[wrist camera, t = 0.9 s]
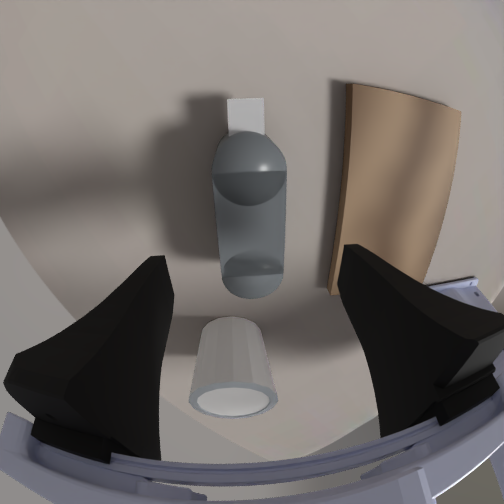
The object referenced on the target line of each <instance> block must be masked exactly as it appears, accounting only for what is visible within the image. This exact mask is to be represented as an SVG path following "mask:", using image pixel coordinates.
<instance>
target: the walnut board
mask: <svg viewBox="0 0 504 504" xmlns="http://www.w3.org/2000/svg"><path fill="white" fill-rule="evenodd" d="M460 123H461V111H458V110H456V109H453V108H450V107H447V106H444V105H441V104H438V103H435V102H432V101H428V100H425V99H422V98H418V97H414V96H411V95H407V94H403V93H399V92H394V91H390V90H385V89H380V88H375V87H370V86H364V85H358V84H346V118H345V140H344V156H343V169H342V181H341V191H340V201H339V209H338V218H337V226H336V233H335V241H334V248H333V254H332V261H331V267H330V273H329V279H328V285H327V289H328V291H329V293H330V295H339V294H340V293H339V289H338V286H337V281H338V276H339V271H340V265H341V260H342V254H343V248H344V244H359V245H361V246H363V247H364V248H366V249H368V250H369V251H371V252H373V253H374V254H376V255H377V256H379V257H380V258H382V259H383V260H385V261H386V262H388V263H389V264H391V265H392V266H394V267H395V268H397V269H398V270H400V271H402V272H403V273H405V274H407V275H408V276H410V277H411V278H413V279H415V280H416V281H418V282H420V283H423V281H424V278H425V276H426V273H427V270H428V267H429V265H430V262H431V259H432V256H433V253H434V250H435V247H436V244H437V240H438V237H439V234H440V230H441V227H442V223H443V219H444V216H445V212H446V208H447V204H448V199H449V195H450V190H451V186H452V181H453V175H454V170H455V164H456V157H457V151H458V143H459V134H460Z"/></svg>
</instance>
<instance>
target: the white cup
mask: <svg viewBox="0 0 504 504" xmlns="http://www.w3.org/2000/svg"><path fill="white" fill-rule="evenodd" d="M277 402H278V398H277V392H276V388H275V384H274V381H273V377H272V373H271V369H270V365H269V361H268V357H267V353H266V349H265V345H264V341H263V337H262V333H261V329H260V328H259V327H258V326H257V325H256V324H255V323H254V322H252V321H250V320H248V319H246V318H241V317H234V316H229V317H221V318H217V319H215V320H213V321H211V322H209V323H208V324H207V325H206V326H205V327H204V328H203V329H202V334H201V339H200V344H199V349H198V354H197V359H196V364H195V369H194V375H193V380H192V385H191V391H190V396H189V403H190V404H191V405H192V407H193V408H194V409H196V410H198V411H199V412H201V413H203V414H206V415H210V416H214V417H218V418H230V419H236V418H247V417H252V416H256V415H259V414H263V413H264V412H266V411H268V410H270V409H272V408H273V407H274V406H275V404H276V403H277Z"/></svg>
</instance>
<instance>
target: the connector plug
mask: <svg viewBox="0 0 504 504" xmlns="http://www.w3.org/2000/svg"><path fill="white" fill-rule="evenodd" d="M227 109H228V130H229V132H228V133H227V134H226V135H225V136H224V137H223V138H222V139H221V141H220V142H219V145H218V147H217V151H216V154H215V157H214V161H213V164H212V182H213V194H214V205H215V216H216V226H217V236H218V246H219V255H220V264H221V273H222V280H223V283H224V285H225V287H226V288H227V289H228V290H229V291H230V292H231V293H232V294H234V295H236V296H238V297H241V298H246V299H256V298H261V297H264V296H267V295H269V294H270V293H272V292H273V291H275V290H276V289H277V288H278V286H279V285H280V283H281V281H282V278H283V270H284V248H285V221H286V182H287V167H286V161H285V158H284V156H283V154H282V152H281V151H280V149H279V148H278V147H277V146H276V145H275V144H274V143H273V142H272V141H271V140H270V139H269V137H268V136H267V135H266V134H264V98H240V99H227Z"/></svg>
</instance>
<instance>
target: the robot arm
mask: <svg viewBox="0 0 504 504" xmlns="http://www.w3.org/2000/svg"><path fill="white" fill-rule="evenodd" d="M477 283H478V278H477V277H475V278H470V279H465V280H460V281H455V282H450V283H444V284H439V285H434V286H426V285H424V284H422V283H420V282H418V281H416V280H415V279H413V278H411V277H410V276H408V275H407V274H405V273H403V272H402V271H400V270H398V269H397V268H395V267H394V266H392V265H391V264H389V263H388V262H386V261H385V260H383V259H382V258H380V257H379V256H377V255H376V254H374V253H373V252H371V251H369V250H368V249H366V248H364V247H363V246H361V245H359V244H344V248H343V254H342V260H341V265H340V271H339V276H338V281H337V286H338V289H339V293H340V296H341V299H342V302H343V305H344V307H345V310H346V312H347V314H348V316H349V318H350V321H351V323H352V325H353V327H354V329H355V332H356V334H357V336H358V338H359V341H360V343H361V345H362V348H363V350H364V353H365V356H366V360H367V363H368V367H369V370H370V374H371V378H372V383H373V387H374V391H375V397H376V403H377V408H378V416H379V424H380V435H381V438H380V439H377V440H374V441H371V442H367V443H364V444H360V445H356V446H353V447H349V448H345V449H341V450H337V451H332V452H328V453H323V454H318V455H312V456H307V457H301V458H294V459H287V460H279V461H269V462H258V463H241V464H197V463H179V462H169V461H161V451H160V437H159V390H160V376H161V367H162V361H163V356H164V351H165V347H166V342H167V338H168V333H169V329H170V324H171V320H172V314H173V305H174V292H173V288H172V284H171V280H170V276H169V272H168V268H167V264H166V259H165V255H162V256H150V257H149V258H148V259H147V260H145V261H144V262H143V263H142V264H141V265H140V266H139V267H138V268H137V269H136V270H135V271H134V272H133V273H132V274H131V275H130V276H129V277H128V278H127V279H126V280H125V281H124V282H123V283H122V284H121V285H120V286H119V287H118V288H117V289H115V290H114V291H113V292H112V293H111V294H110V295H109V296H108V297H107V298H106V299H105V300H104V301H102V302H101V303H100V304H99V305H98V306H96V307H95V308H94V309H93V310H91V311H90V312H89V313H87V314H86V315H85V316H84V317H82V318H81V319H79V320H78V321H76V322H75V323H74V324H72V325H70V326H69V327H67V328H66V329H65V330H63V331H61V332H60V333H58V334H56V335H55V336H53V337H51V338H49V339H47V340H46V341H44V342H42V343H40V344H38V345H36V346H33V347H31V348H29V349H27V350H25V351H22V352H20V353H18V354H16V355H15V357H14V359H13V362H12V364H11V366H10V368H9V370H8V373H7V375H6V377H5V379H4V382H3V383H4V386H5V388H6V390H7V391H8V393H9V394H10V395H11V396H12V397H13V398H14V399H15V400H16V401H17V402H18V403H19V404H20V405H21V406H23V407H24V408H25V409H26V410H27V411H28V412H29V413H31V414H32V415H33V416H34V417H35V421H34V424H33V423H31V422H29V421H28V420H26V419H24V418H22V417H19V416H17V415H15V414H13V413H11V412H7V415H6V418H5V421H4V425H3V428H2V431H1V435H0V470H1V471H3V472H4V473H6V474H7V475H9V476H10V477H12V478H13V479H15V480H16V481H18V482H19V483H21V484H22V485H24V486H25V487H27V488H29V489H30V490H32V491H33V492H35V493H37V494H38V495H40V496H42V497H43V498H45V499H47V500H49V501H51V502H52V503H54V504H437V503H436V499H435V498H436V497H437V496H439V495H440V494H442V493H443V492H445V491H446V490H448V489H449V488H451V487H452V486H454V485H455V484H456V483H458V482H459V481H460V480H462V479H463V478H464V477H466V476H467V475H468V474H469V473H471V472H472V471H473V470H474V469H476V468H477V467H478V466H479V465H480V464H481V463H483V462H484V461H485V460H486V459H487V458H489V459H490V461H491V463H492V466H493V469H494V472H495V474H496V477H497V480H498V483H499V486H500V489H501V492H502V496H503V499H504V315H503V314H501V313H498V312H497V311H496V310H495V308H494V307H493V306H492V304H491V303H490V302H489V301H488V299H487V298H486V297H485V296H484V295H483V293H482V292H481V291H480V290H479V289H478V288H477V287H476V285H477ZM403 451H405V452H403ZM400 452H403V453H401V454H399V455H397V456H395V457H392V458H390V459H388V460H385V461H383V462H382V463H381V464H380V465H379V466H377V467H375V468H374V469H372V470H370V471H368V472H366V473H364V474H362V475H361V480H359V481H356V482H353V483H349V484H345V485H341V486H337V487H333V488H328V489H324V490H319V491H314V492H308V493H303V494H296V495H290V496H283V497H275V498H265V499H254V500H237V501H207V496H206V495H204V494H199V493H195V492H193V491H191V489H189V488H184V487H177V486H170V485H165V484H160V483H155V482H163V483H171V484H182V485H194V486H250V485H251V486H252V485H265V484H276V483H284V482H291V481H298V480H304V479H310V478H315V477H320V476H325V475H329V474H334V473H338V472H342V471H346V470H349V469H353V468H357V467H360V466H363V465H367V464H370V463H373V462H376V461H379V460H382V459H385V458H387V457H390V456H393V455H395V454H398V453H400ZM152 481H155V482H152Z"/></svg>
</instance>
